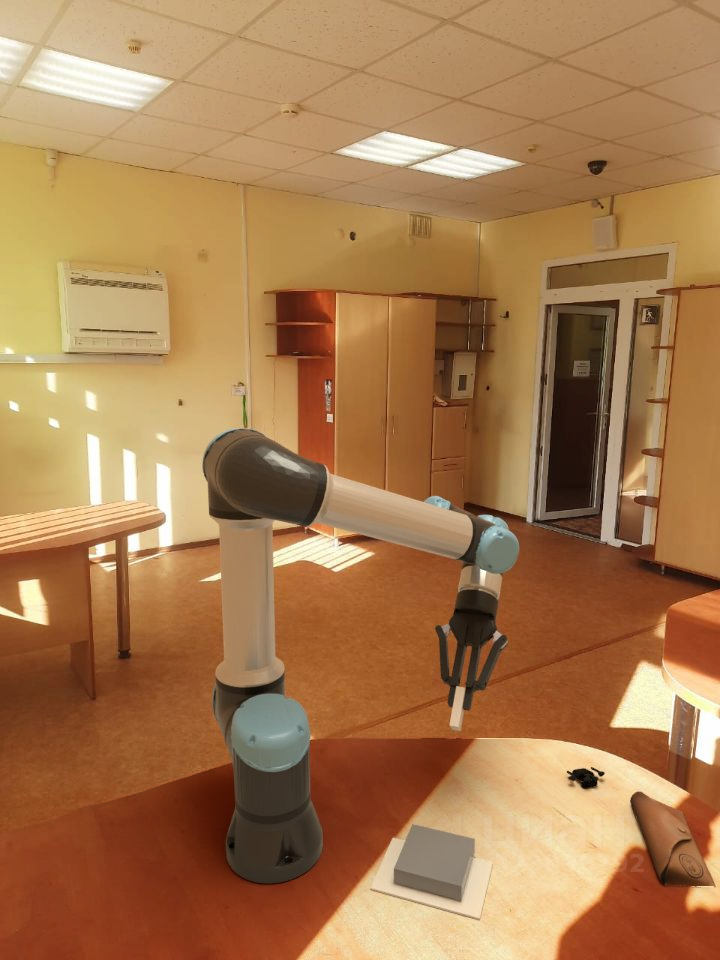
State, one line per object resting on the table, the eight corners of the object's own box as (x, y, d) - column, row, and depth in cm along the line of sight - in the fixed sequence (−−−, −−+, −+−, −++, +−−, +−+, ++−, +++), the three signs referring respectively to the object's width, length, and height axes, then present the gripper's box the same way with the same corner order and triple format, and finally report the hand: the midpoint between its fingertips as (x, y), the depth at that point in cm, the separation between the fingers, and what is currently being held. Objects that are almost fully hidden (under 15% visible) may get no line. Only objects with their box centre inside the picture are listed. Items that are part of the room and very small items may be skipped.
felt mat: (370, 889, 100) (370, 887, 100) (392, 839, 110) (392, 837, 110) (479, 920, 95) (479, 918, 95) (492, 863, 105) (493, 862, 105)
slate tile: (412, 838, 110) (393, 884, 101) (412, 823, 109) (393, 868, 100) (474, 853, 107) (461, 902, 97) (474, 838, 106) (461, 886, 97)
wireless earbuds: (594, 765, 127) (609, 772, 122) (596, 779, 127) (611, 787, 122) (560, 770, 126) (574, 777, 121) (561, 784, 125) (575, 792, 121)
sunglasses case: (721, 890, 99) (700, 853, 99) (675, 907, 101) (654, 871, 100) (680, 807, 117) (662, 776, 116) (642, 823, 118) (623, 792, 118)
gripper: (515, 609, 125) (497, 741, 113) (445, 600, 130) (420, 726, 118) (513, 592, 119) (492, 730, 107) (439, 583, 124) (412, 714, 112)
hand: (455, 728), depth 113 cm, fingers closed
